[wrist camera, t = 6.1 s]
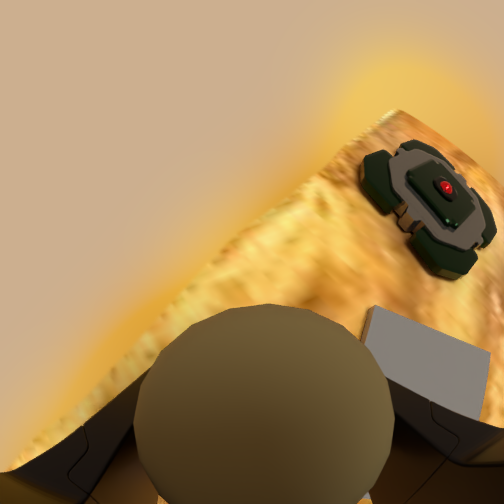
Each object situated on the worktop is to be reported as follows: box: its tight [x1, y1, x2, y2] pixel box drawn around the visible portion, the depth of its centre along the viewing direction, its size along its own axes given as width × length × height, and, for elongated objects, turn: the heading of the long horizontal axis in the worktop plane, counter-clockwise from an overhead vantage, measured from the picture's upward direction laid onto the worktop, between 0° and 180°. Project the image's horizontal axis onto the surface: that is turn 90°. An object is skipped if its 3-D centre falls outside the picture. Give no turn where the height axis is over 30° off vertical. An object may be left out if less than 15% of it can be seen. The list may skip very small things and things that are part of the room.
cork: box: [133, 304, 395, 504], centre depth 8 cm, size 6×6×11 cm
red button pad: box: [360, 139, 497, 280], centre depth 28 cm, size 18×18×5 cm
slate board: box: [360, 305, 491, 499], centre depth 18 cm, size 16×16×1 cm
